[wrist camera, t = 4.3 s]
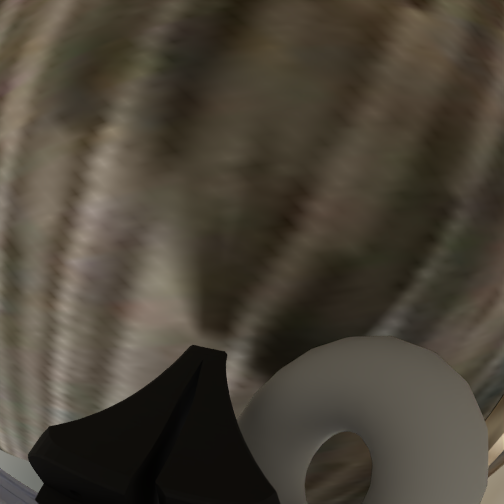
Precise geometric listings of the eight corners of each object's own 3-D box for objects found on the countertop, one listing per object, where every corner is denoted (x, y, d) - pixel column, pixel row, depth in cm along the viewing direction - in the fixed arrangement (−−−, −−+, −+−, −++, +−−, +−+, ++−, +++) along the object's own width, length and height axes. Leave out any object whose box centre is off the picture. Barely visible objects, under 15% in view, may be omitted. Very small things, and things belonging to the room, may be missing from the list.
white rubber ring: (365, 259, 10) (550, 529, 1) (409, 303, 11) (546, 505, 3) (190, 415, 13) (212, 622, 4) (248, 432, 14) (285, 609, 5)
